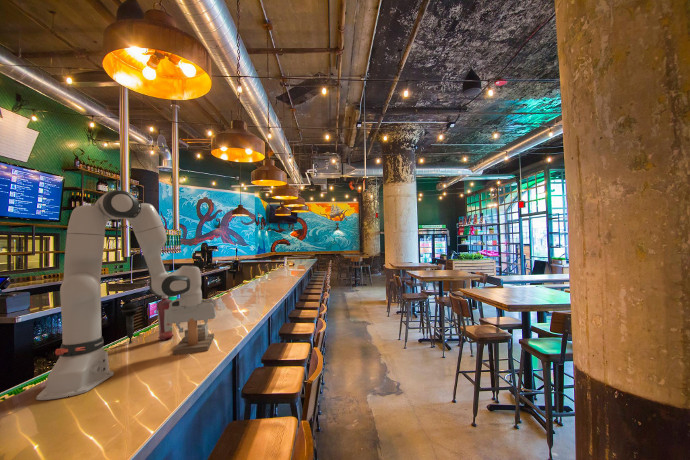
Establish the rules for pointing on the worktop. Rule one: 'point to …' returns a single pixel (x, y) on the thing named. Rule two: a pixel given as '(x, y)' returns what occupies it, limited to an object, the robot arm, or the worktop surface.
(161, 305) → the liquor
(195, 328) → the peg
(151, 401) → the worktop surface
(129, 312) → the microphone
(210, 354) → the worktop surface
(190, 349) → the well board
